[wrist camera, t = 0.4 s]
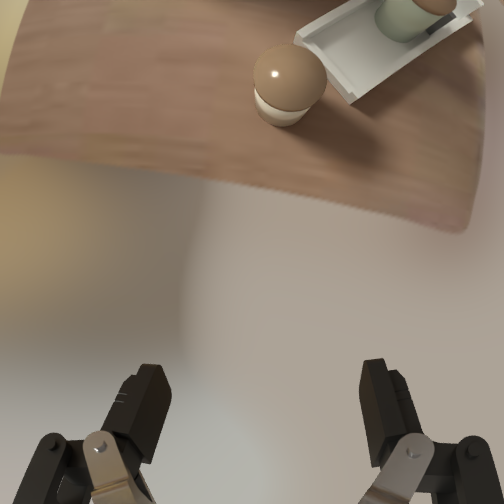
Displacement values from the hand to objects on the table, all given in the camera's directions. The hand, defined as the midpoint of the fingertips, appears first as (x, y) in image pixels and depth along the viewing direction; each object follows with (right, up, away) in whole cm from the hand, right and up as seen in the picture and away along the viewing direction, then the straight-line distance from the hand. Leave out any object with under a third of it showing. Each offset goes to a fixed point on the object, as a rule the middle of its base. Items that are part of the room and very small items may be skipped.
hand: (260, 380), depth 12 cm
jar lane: (+17, +32, +17) cm, 40 cm away
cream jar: (+3, +21, +20) cm, 29 cm away
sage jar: (+17, +32, +16) cm, 40 cm away
